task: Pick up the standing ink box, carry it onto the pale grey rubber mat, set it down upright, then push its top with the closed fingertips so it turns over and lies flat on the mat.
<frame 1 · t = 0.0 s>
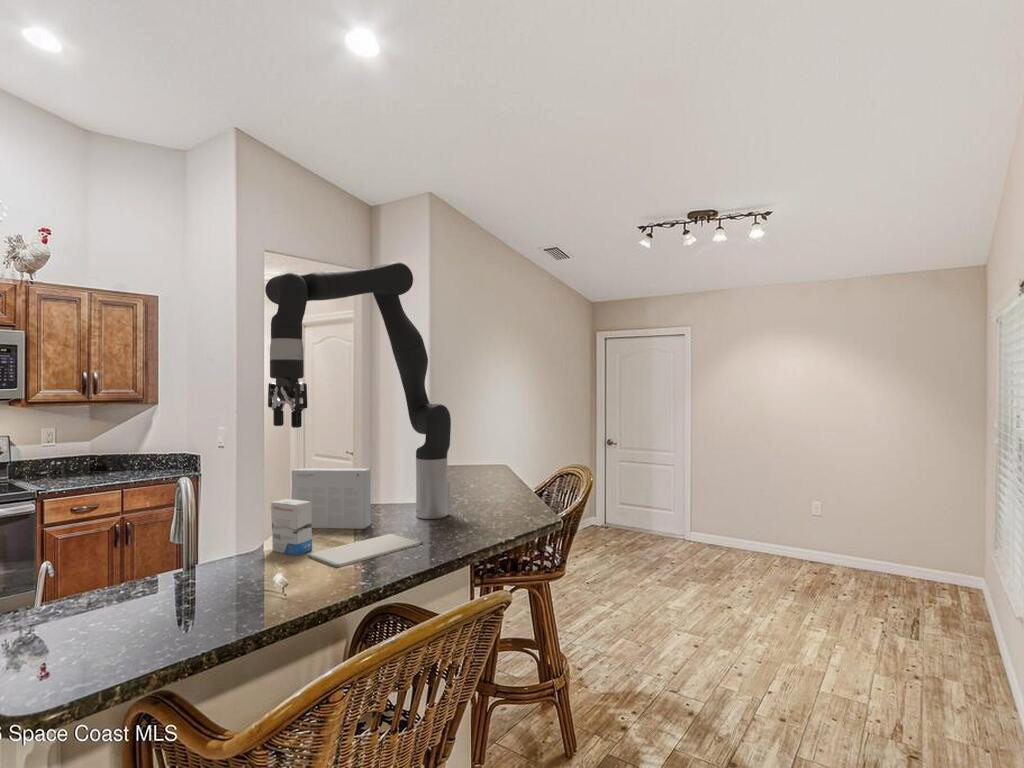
hand: (287, 426, 137), 29 cm above the worktop, fingers open, 8 cm apart
mat: (367, 550, 136), on the worktop
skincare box: (331, 527, 160), on the worktop
ink box: (291, 552, 136), on the worktop
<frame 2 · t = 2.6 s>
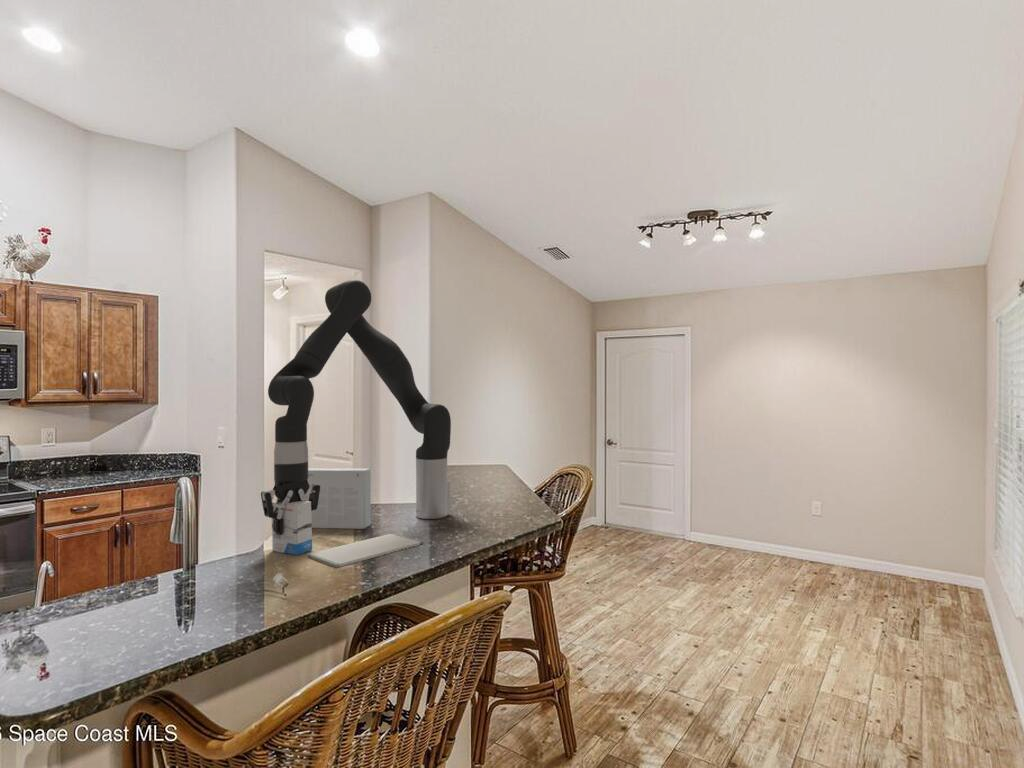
hand: (291, 531, 136), 5 cm above the worktop, fingers closed on ink box, 5 cm apart
ink box: (291, 551, 136), on the worktop, touching gripper
everything else where it was.
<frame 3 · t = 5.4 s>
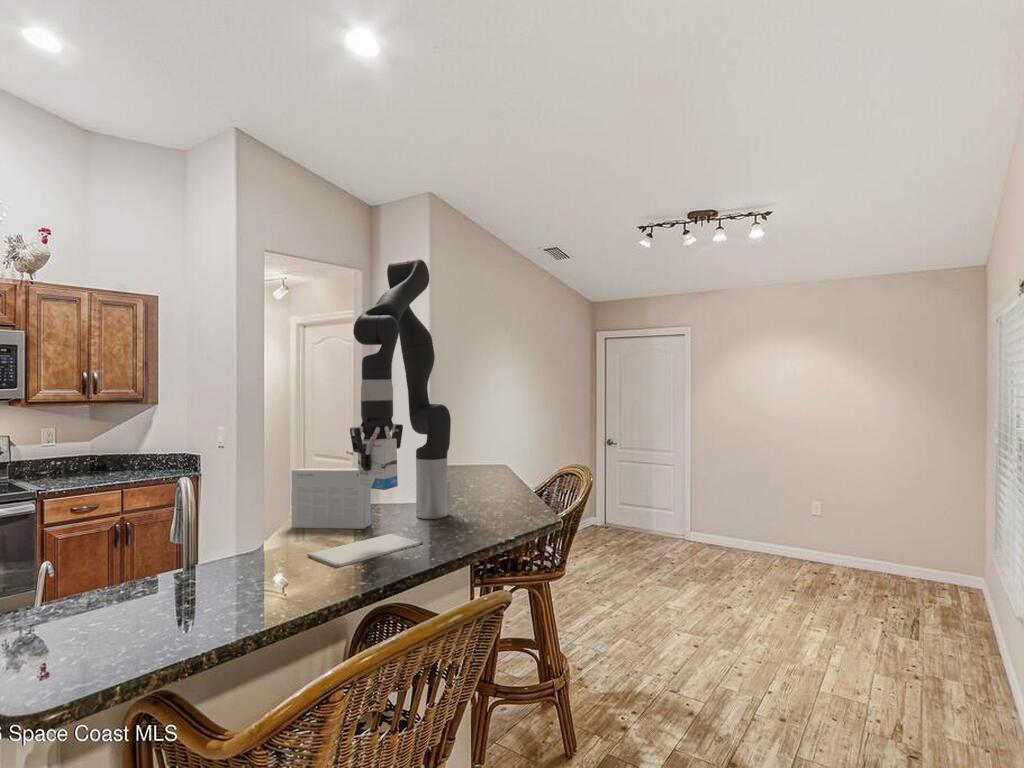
hand: (377, 468, 139), 19 cm above the worktop, fingers closed on ink box, 5 cm apart
ink box: (377, 488, 139), point 14 cm above the worktop, touching gripper
everything else where it was.
when the fingers open (6 cm above the worktop, at t = 8.1 s): ink box drops 1 cm, resting on mat.
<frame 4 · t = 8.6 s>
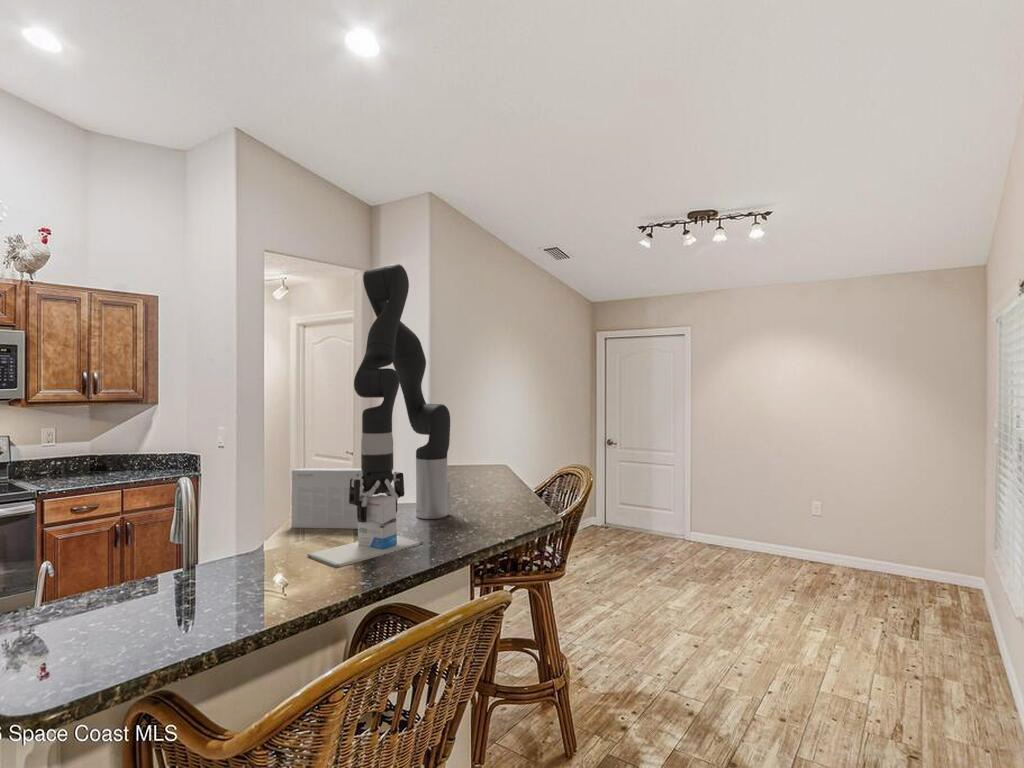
hand: (377, 518, 139), 7 cm above the worktop, fingers open, 8 cm apart
ink box: (377, 545, 139), resting on mat
everything else where it was.
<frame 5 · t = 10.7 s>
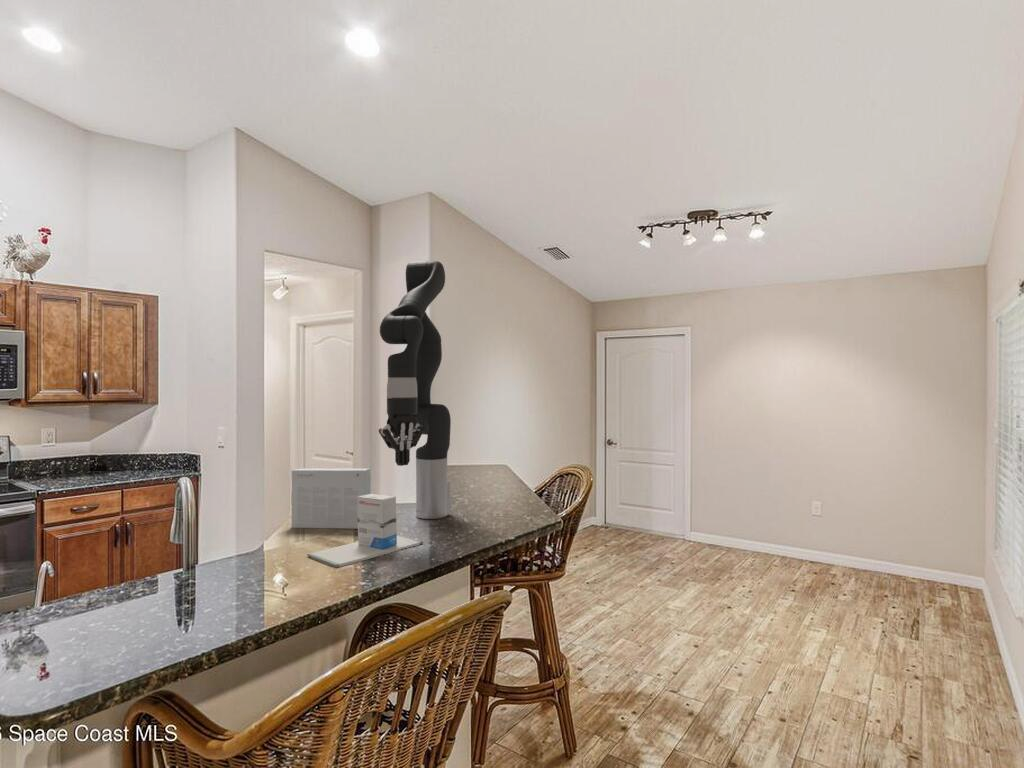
hand: (402, 464, 144), 19 cm above the worktop, fingers closed
nothing on the worktop moved.
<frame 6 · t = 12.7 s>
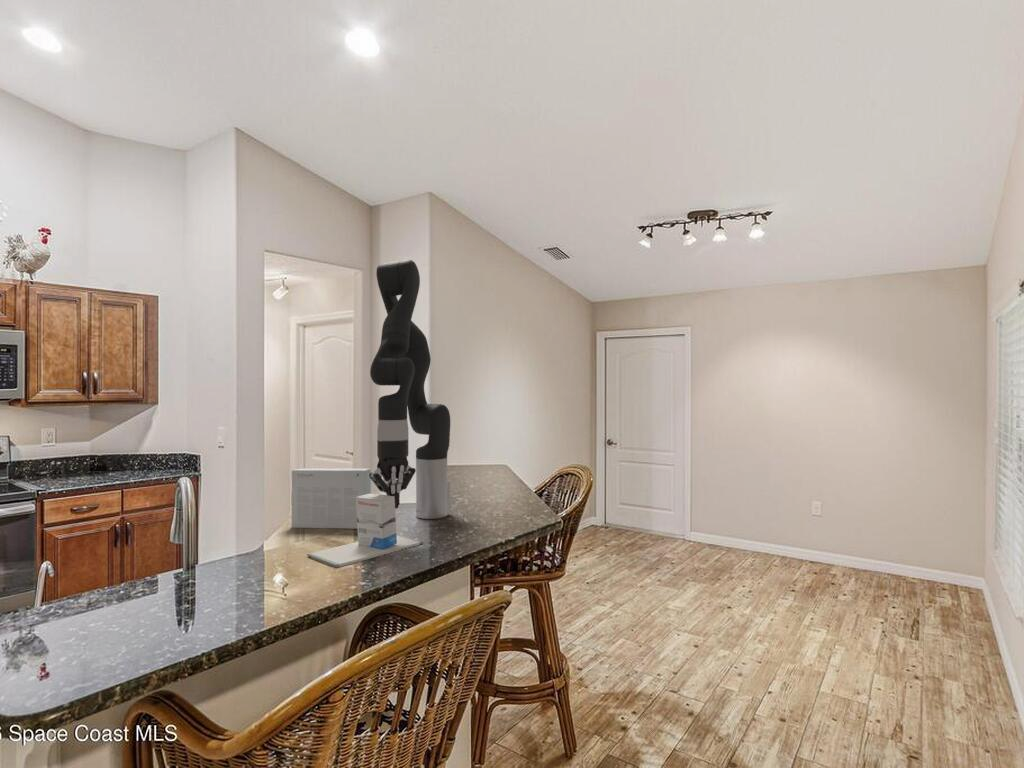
hand: (393, 508, 142), 9 cm above the worktop, fingers closed
ink box: (377, 545, 139), resting on mat, touching gripper
everything else where it was.
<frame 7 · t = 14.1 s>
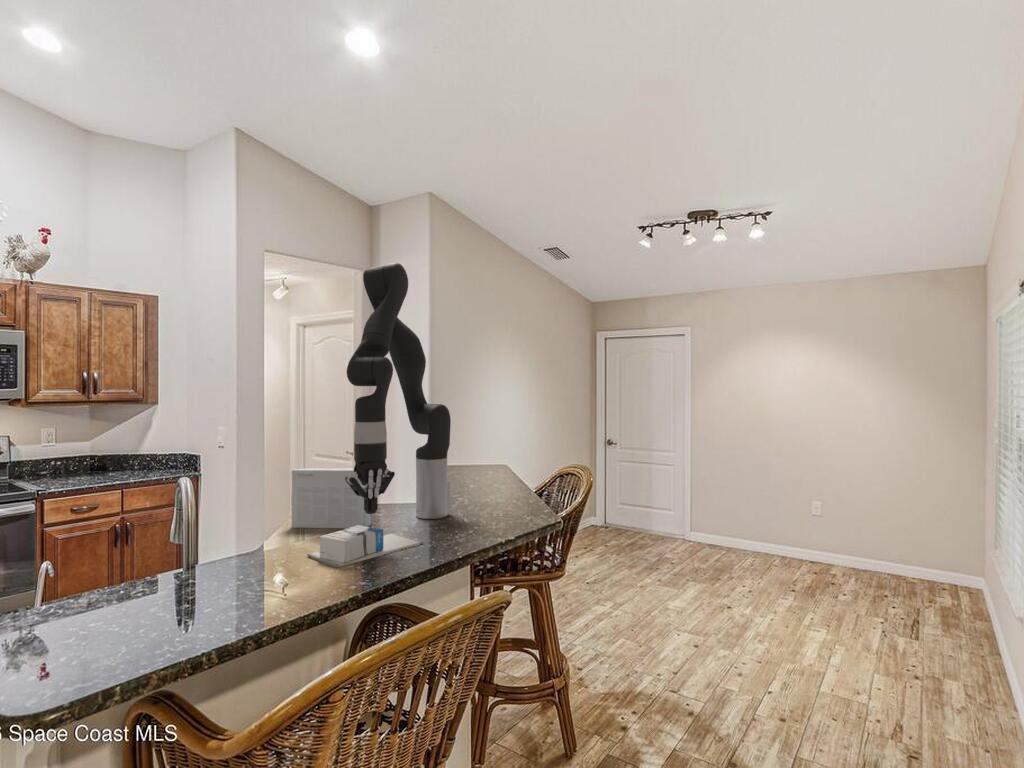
hand: (370, 513, 137), 9 cm above the worktop, fingers closed
ink box: (371, 537, 137), point 3 cm above the worktop, touching mat
everything else where it was.
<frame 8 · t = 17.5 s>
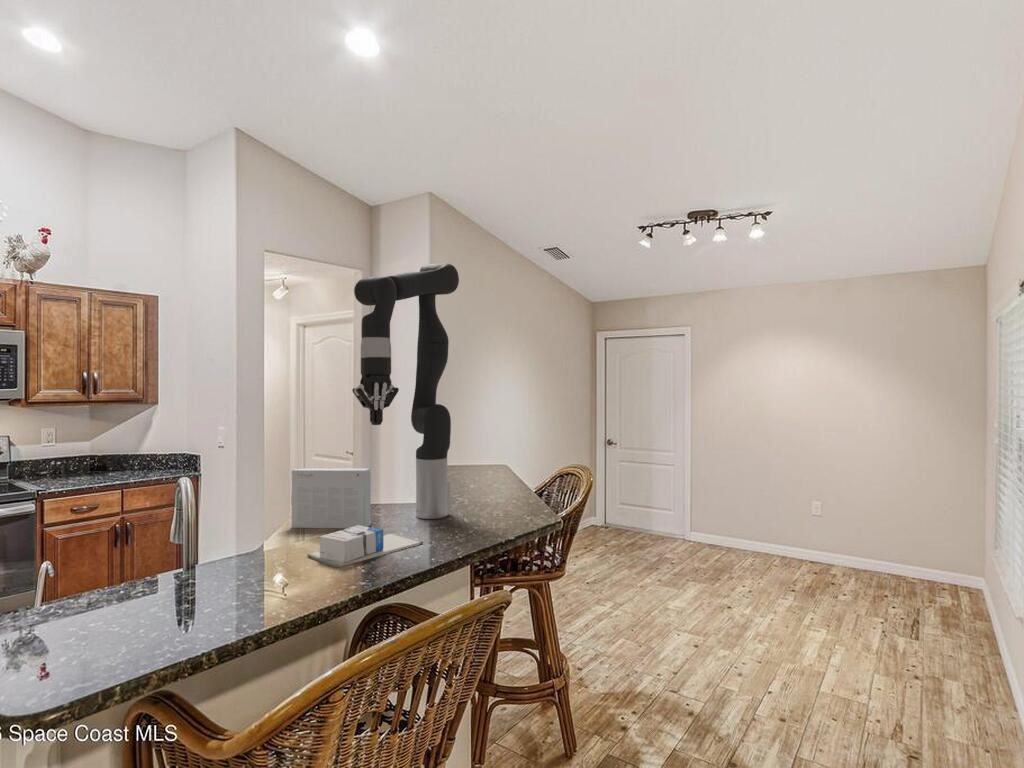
hand: (376, 424, 146), 29 cm above the worktop, fingers closed
nothing on the worktop moved.
at the end: ink box tilted 89°; ink box inside the target area on the mat (1.4 cm from its centre), point 2.9 cm above the mat's base; the gripper is holding nothing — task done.
